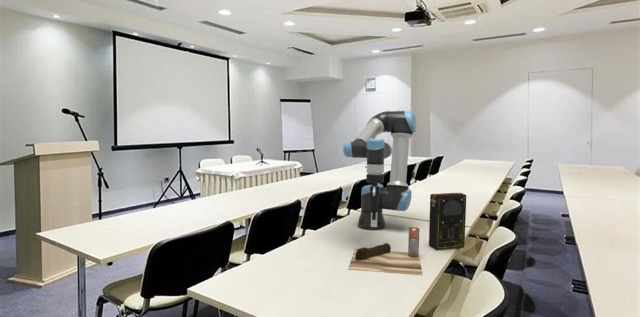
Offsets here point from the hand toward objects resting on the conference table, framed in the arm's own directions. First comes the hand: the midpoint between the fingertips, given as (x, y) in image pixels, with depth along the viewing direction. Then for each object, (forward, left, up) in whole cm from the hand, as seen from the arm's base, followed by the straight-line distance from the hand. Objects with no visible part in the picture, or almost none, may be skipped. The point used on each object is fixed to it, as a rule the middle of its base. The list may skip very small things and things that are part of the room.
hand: (373, 226), depth 163 cm
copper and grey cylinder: (+4, +17, -11) cm, 21 cm away
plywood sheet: (+12, +6, -11) cm, 17 cm away
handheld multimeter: (-12, +33, -11) cm, 37 cm away
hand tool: (+8, 0, -11) cm, 14 cm away
